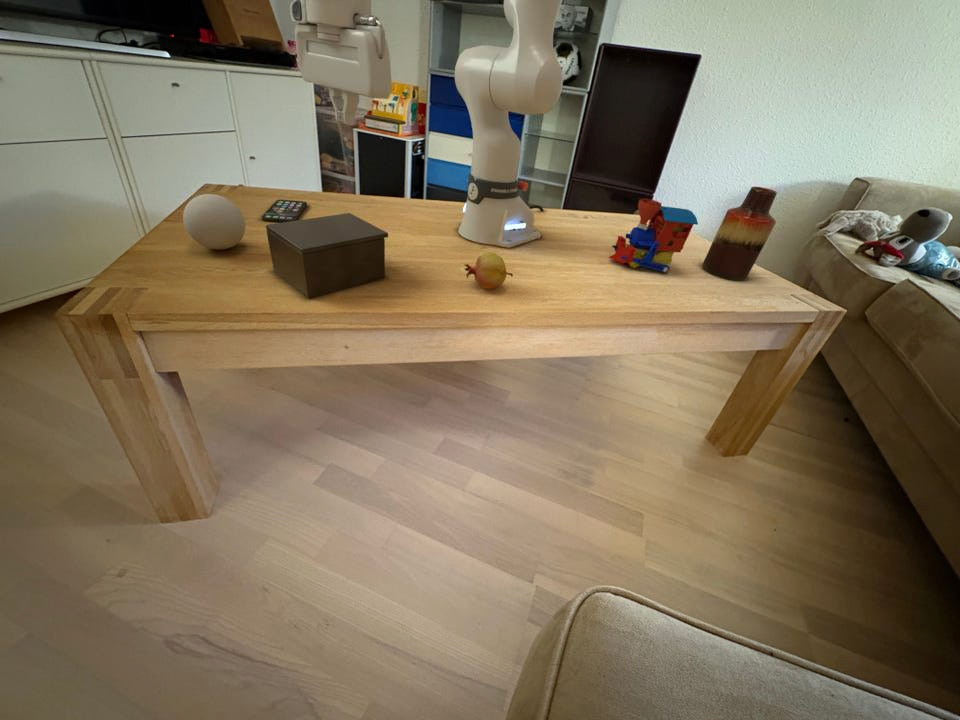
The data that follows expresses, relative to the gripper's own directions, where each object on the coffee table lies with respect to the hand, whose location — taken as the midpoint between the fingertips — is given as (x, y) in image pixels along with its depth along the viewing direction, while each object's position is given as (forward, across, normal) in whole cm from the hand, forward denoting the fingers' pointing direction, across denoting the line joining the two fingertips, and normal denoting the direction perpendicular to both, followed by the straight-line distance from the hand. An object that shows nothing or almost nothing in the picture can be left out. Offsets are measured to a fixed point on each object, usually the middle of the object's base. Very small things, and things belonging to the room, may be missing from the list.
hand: (345, 123), depth 66 cm
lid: (+17, 0, +5) cm, 18 cm away
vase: (+25, -48, -78) cm, 95 cm away
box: (+25, 0, +5) cm, 26 cm away
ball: (+25, +21, +16) cm, 37 cm away
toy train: (+25, -32, -60) cm, 73 cm away
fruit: (+25, -20, -18) cm, 37 cm away
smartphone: (+25, +37, -4) cm, 45 cm away
